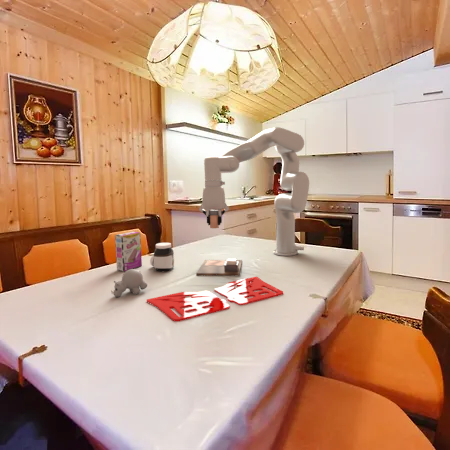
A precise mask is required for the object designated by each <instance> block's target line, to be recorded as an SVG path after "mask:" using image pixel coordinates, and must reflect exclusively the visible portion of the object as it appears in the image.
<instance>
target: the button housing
mask: <svg viewBox="0 0 450 450" xmlns="http://www.w3.org/2000/svg"><path fill="white" fill-rule="evenodd" d="M238 269H239V262H237V265H226V262H225V265H224V272H238Z"/></svg>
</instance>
